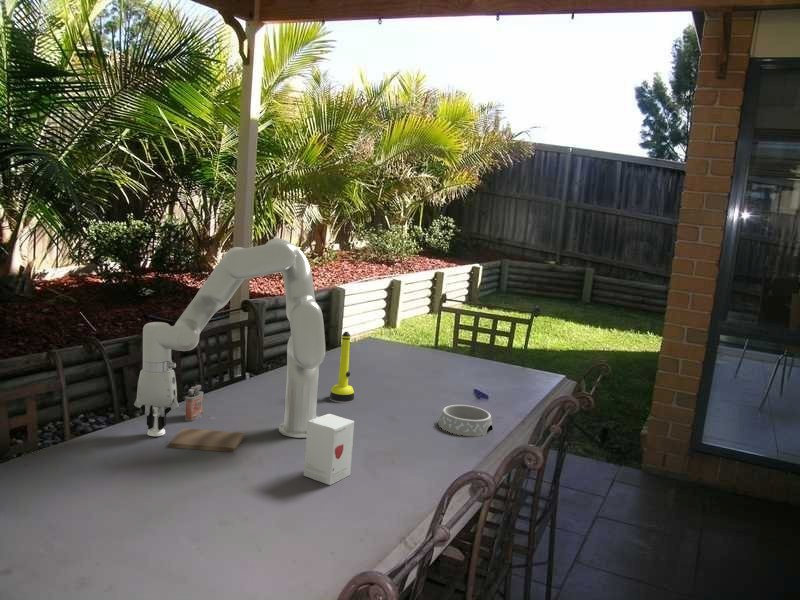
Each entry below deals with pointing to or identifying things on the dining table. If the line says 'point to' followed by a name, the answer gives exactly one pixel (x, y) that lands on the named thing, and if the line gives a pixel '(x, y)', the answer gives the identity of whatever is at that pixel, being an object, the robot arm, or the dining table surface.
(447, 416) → the dog bowl
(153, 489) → the dining table surface
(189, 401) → the lighter
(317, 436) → the supplement box
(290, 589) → the dining table surface
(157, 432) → the chess piece
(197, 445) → the walnut board
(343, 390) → the flashlight
